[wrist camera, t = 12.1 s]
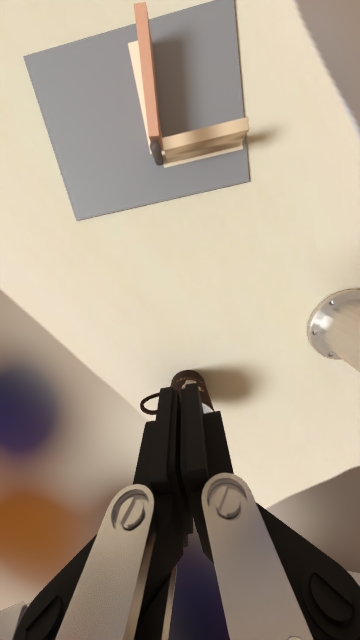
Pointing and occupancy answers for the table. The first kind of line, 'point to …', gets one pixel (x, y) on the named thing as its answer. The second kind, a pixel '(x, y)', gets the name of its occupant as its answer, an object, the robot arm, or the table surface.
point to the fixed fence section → (201, 141)
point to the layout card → (141, 109)
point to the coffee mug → (180, 382)
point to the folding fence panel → (148, 72)
